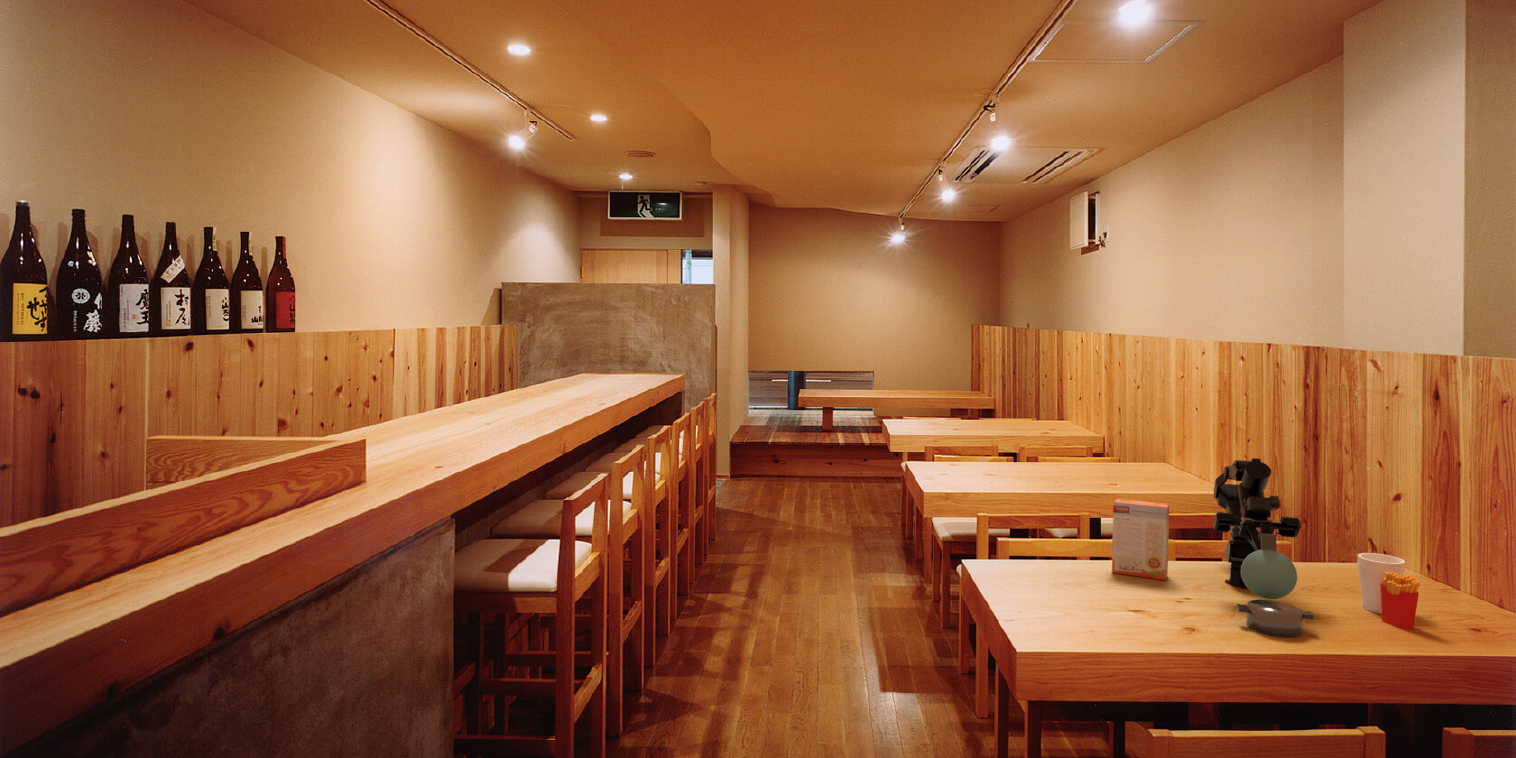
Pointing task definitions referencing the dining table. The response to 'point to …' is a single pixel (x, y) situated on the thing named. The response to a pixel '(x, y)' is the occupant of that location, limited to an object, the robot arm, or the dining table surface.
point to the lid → (1268, 571)
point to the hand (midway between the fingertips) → (1260, 553)
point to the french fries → (1399, 599)
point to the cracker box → (1140, 538)
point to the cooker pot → (1275, 617)
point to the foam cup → (1376, 577)
